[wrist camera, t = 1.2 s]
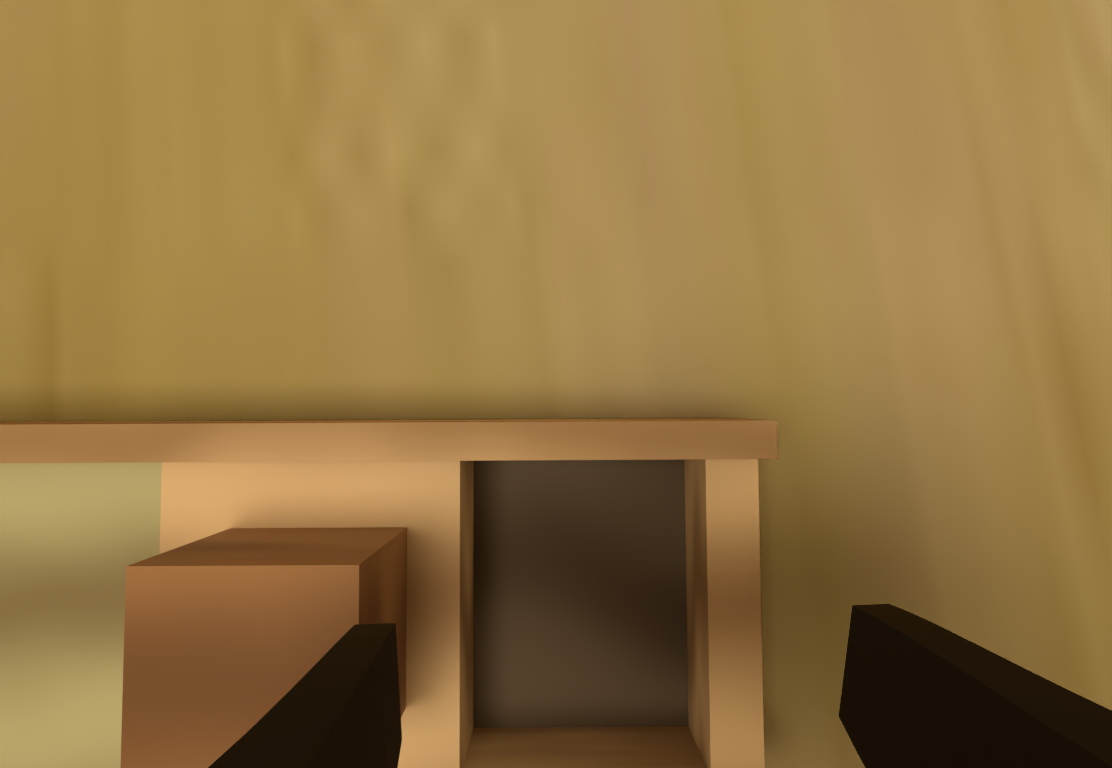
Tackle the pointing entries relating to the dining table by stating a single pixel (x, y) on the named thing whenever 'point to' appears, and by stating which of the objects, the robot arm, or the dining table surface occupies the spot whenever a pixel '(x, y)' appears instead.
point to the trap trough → (419, 574)
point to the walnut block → (245, 630)
